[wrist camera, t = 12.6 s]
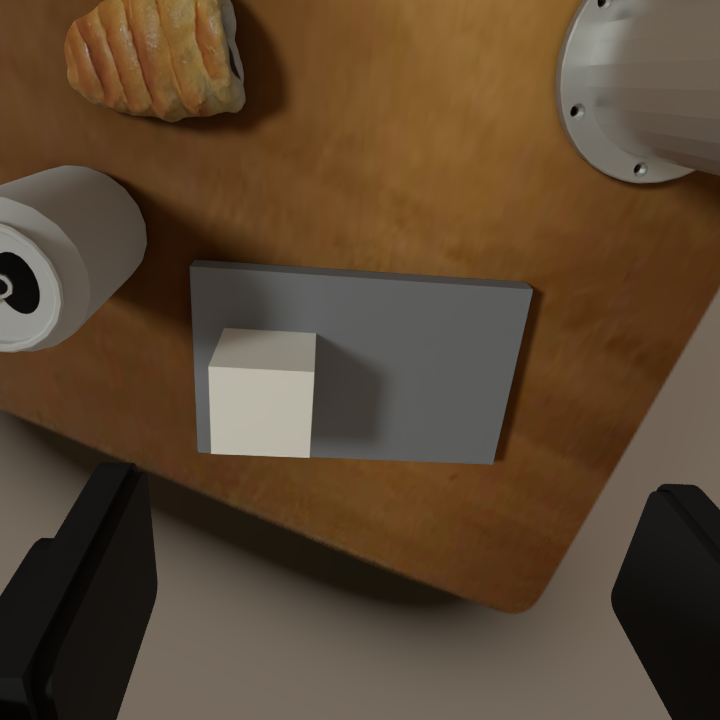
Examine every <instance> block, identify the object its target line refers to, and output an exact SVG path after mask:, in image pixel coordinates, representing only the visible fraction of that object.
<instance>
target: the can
mask: <svg viewBox="0 0 720 720" xmlns="http://www.w3.org/2000/svg"><path fill="white" fill-rule="evenodd" d="M146 245H147V237H146V225H145V222H144V220H143V217H142V215H141V212H140V210H139V207H138V205H137V204H136V203H135V201H134V200H133V199H132V197H131V196H130V195H129V194H128V192H127V191H126V190H125V188H123V187H122V186H121V185H119V184H118V183H117V182H115V181H114V180H113V179H111V178H110V177H109V176H107V175H105V174H103V173H100V172H98V171H95V170H93V169H90V168H87V167H80V166H67V165H65V166H61V167H57V168H53V169H49V170H46V171H43V172H40V173H37V174H33V175H30V176H27V177H24V178H21V179H18V180H15V181H12V182H9V183H6V184H3V185H0V352H18V351H36V350H40V349H44V348H48V347H52V346H56V345H57V344H59V343H60V342H62V341H63V340H65V339H67V338H68V337H70V336H71V335H73V334H74V333H75V332H76V331H77V330H78V329H79V328H80V327H81V326H82V325H83V324H84V323H85V322H86V321H87V320H88V319H89V318H90V317H91V316H92V315H93V314H94V313H95V312H96V311H97V310H98V309H99V308H100V307H101V306H102V305H103V304H104V303H105V302H106V301H107V300H108V299H109V298H110V297H111V296H112V295H113V294H114V293H115V292H116V291H117V290H118V289H119V287H120V286H121V285H122V284H123V283H124V282H125V281H126V280H127V279H128V278H129V277H130V276H131V275H132V274H133V273H134V272H135V270H136V269H137V267H138V266H139V265H140V263H141V262H142V260H143V257H144V253H145V249H146Z"/></svg>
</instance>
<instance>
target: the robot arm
mask: <svg viewBox="0 0 720 720" xmlns="http://www.w3.org/2000/svg"><path fill="white" fill-rule="evenodd" d="M597 3H598V0H583V1H582V3H581V4H580V6H579V7H578V8H577V10H576V12H575V14H574V17H573V19H572V21H571V23H570V25H569V27H568V29H567V31H566V34H565V37H564V40H563V43H562V46H561V50H560V53H559V57H558V64H557V71H556V78H555V85H556V104H557V109H558V113H559V118H560V122H561V125H562V127H563V129H564V132H565V134H566V136H567V139H568V141H569V142H570V143H571V145H572V146H573V148H574V149H575V150H576V152H577V153H578V155H579V156H580V157H581V158H583V159H584V160H585V161H586V162H587V163H588V164H589V165H591V166H592V167H593V168H595V169H597V170H599V171H600V172H602V173H604V174H606V175H608V176H611V177H614V178H617V179H620V180H623V181H628V182H633V183H659V182H664V181H668V180H672V179H676V178H680V177H682V176H685V175H687V174H689V173H691V172H694V171H696V170H698V171H702V172H706V173H710V174H714V175H718V176H720V0H603V2H602V5H601V6H600V7H599V6H598V4H597ZM573 106H574V107H575V108H576V112H575V114H574V115H572V116H571V115H570V111H571V109H572V107H573ZM636 165H637V169H636V170H635V171H634V168H635V166H636ZM156 594H157V571H156V561H155V552H154V540H153V529H152V519H151V508H150V497H149V486H148V477H147V474H146V472H137V467H136V465H135V464H134V463H115V462H101V463H99V464H98V465H97V467H96V468H95V470H94V472H93V473H92V475H91V477H90V478H89V480H88V482H87V483H86V485H85V487H84V489H83V490H82V492H81V494H80V495H79V497H78V499H77V500H76V502H75V504H74V505H73V507H72V509H71V511H70V512H69V514H68V515H67V517H66V519H65V520H64V522H63V524H62V525H61V527H60V529H59V530H58V532H57V534H56V536H55V537H54V538H41V539H39V540H38V541H36V542H35V543H34V545H33V546H32V547H31V549H30V550H29V552H28V553H27V555H26V556H25V558H24V559H23V561H22V563H21V564H20V566H19V568H18V569H17V571H16V572H15V574H14V575H13V577H12V579H11V580H10V582H9V583H8V585H7V587H6V588H5V590H4V591H3V593H2V594H1V596H0V720H116V719H117V716H118V713H119V710H120V707H121V704H122V701H123V698H124V695H125V692H126V688H127V686H128V683H129V679H130V676H131V673H132V670H133V667H134V664H135V661H136V658H137V655H138V652H139V649H140V646H141V643H142V640H143V637H144V634H145V631H146V627H147V624H148V622H149V619H150V616H151V613H152V609H153V606H154V603H155V599H156ZM611 602H612V607H613V610H614V612H615V614H616V616H617V618H618V620H619V622H620V624H621V625H622V627H623V629H624V631H625V633H626V635H627V637H628V639H629V640H630V642H631V644H632V646H633V648H634V650H635V652H636V653H637V655H638V657H639V659H640V661H641V663H642V664H643V666H644V668H645V670H646V672H647V674H648V676H649V678H650V679H651V681H652V683H653V685H654V687H655V689H656V690H657V692H658V694H659V696H660V698H661V700H662V702H663V703H664V705H665V707H666V709H667V711H668V713H669V715H670V716H671V718H672V720H720V510H719V509H718V507H717V506H716V505H715V504H714V503H713V502H712V501H711V500H710V499H709V498H708V496H707V495H706V494H705V493H704V492H703V491H702V490H701V489H700V488H699V487H697V486H695V485H683V484H663V485H661V486H660V487H659V488H658V489H657V491H654V492H652V493H651V494H650V495H649V497H648V500H647V502H646V505H645V507H644V510H643V512H642V515H641V517H640V520H639V523H638V525H637V528H636V531H635V533H634V536H633V538H632V541H631V543H630V546H629V548H628V551H627V554H626V556H625V559H624V561H623V564H622V566H621V569H620V572H619V574H618V577H617V580H616V582H615V585H614V587H613V590H612V593H611Z"/></svg>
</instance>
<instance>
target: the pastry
mask: <svg viewBox="0 0 720 720" xmlns="http://www.w3.org/2000/svg"><path fill="white" fill-rule="evenodd" d="M235 33H236V18H235V15H234V8H233V5H232V2H231V0H105V1H103V2H100V4H99V5H98V6H97V7H96V8H95V9H93V10H92V11H91V12H90V13H89V14H87V15H86V16H84V17H81V18H78V19H76V20H75V21H74V22H73V24H72V25H71V27H70V29H69V30H68V33H67V37H66V41H65V44H64V47H65V57H66V63H67V67H68V73H67V75H68V80H69V83H70V85H71V86H72V87H73V88H74V89H75V90H76V91H77V92H79V93H80V94H82V95H83V96H84V97H86V98H87V99H88V100H89V101H90V102H92V103H93V104H94V105H97V106H100V107H105V108H109V109H114V110H116V111H118V112H120V113H127V114H129V115H132V116H154V117H157V118H160V119H163V120H164V121H168V122H175V121H179V120H180V119H182V118H185V117H196V116H198V117H208V116H213V115H215V114H217V113H223V112H232V113H237V112H238V111H240V110H241V109H242V108H243V105H244V103H245V101H246V97H245V91H244V87H243V83H244V72H243V66H242V63H241V60H240V56H239V52H238V48H237V45H236V43H235Z"/></svg>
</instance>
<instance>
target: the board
mask: <svg viewBox="0 0 720 720" xmlns="http://www.w3.org/2000/svg"><path fill="white" fill-rule="evenodd" d="M190 285H191V307H192V330H193V352H194V374H195V396H196V418H197V440H198V452H201V453H211V432H210V402H209V371H208V366H209V364H210V361H211V359H212V356H213V354H214V352H215V349H216V347H217V344H218V342H219V339H220V337H221V335H222V332H223V330H224V328H235V329H252V330H269V331H286V332H303V333H316V347H315V370H314V388H313V405H312V422H311V439H310V456H309V457H324V458H348V459H373V460H398V461H422V462H447V463H471V464H493V462H494V457H495V453H496V449H497V444H498V440H499V436H500V431H501V427H502V423H503V418H504V414H505V410H506V405H507V401H508V397H509V392H510V388H511V384H512V379H513V375H514V371H515V366H516V362H517V358H518V353H519V349H520V345H521V340H522V336H523V332H524V327H525V323H526V319H527V314H528V310H529V306H530V301H531V297H532V293H533V289H532V288H531V287H530V286H529V285H528V284H527V283H526V282H516V281H501V280H487V279H472V278H457V277H443V276H428V275H414V274H399V273H384V272H370V271H355V270H341V269H326V268H311V267H297V266H282V265H268V264H253V263H238V262H224V261H209V260H194V261H193V262H192V264H191V265H190Z"/></svg>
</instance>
